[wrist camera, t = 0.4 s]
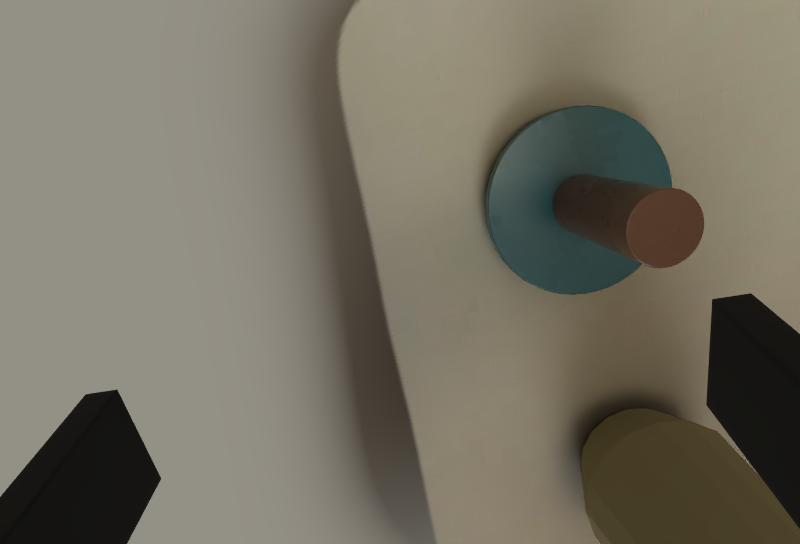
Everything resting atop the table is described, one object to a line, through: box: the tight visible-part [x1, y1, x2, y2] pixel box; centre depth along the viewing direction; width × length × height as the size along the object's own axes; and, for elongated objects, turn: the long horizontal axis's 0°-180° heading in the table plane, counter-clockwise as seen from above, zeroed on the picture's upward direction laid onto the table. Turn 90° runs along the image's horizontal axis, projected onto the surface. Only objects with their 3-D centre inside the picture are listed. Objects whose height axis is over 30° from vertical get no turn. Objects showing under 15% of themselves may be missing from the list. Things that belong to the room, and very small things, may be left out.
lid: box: [485, 106, 704, 294], centre depth 24 cm, size 9×9×9 cm
